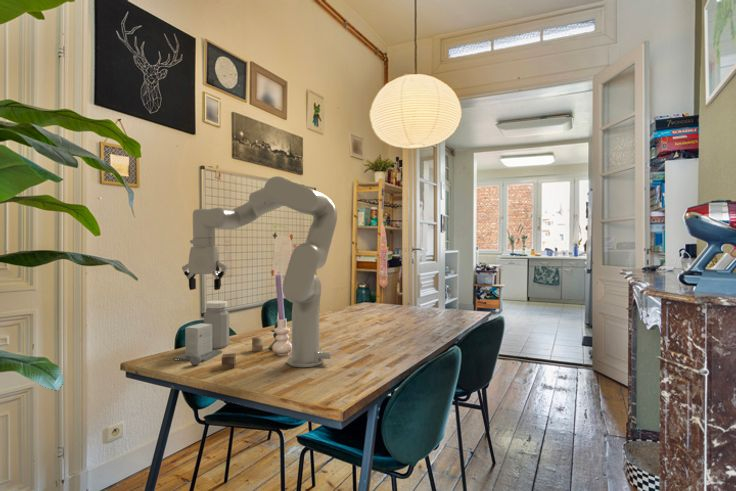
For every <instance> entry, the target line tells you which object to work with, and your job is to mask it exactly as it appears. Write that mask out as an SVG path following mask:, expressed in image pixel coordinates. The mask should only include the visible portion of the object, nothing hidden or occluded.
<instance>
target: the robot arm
mask: <svg viewBox="0 0 736 491" xmlns="http://www.w3.org/2000/svg"><path fill="white" fill-rule="evenodd" d="M282 207H286V208H289V209H291V210H294V211H296V212H299V213H301V214H305V215H307V216H308V215H309V216H310V215H311V216H312V217H313V218H312V219H313V220H312V223H311V224H310V226H309V230H308V233H307V235H306V236H307V237H306V239H305V242H303V243H300V244H298V245H297V246H296V247H295V248H294V249H293V251H292V252H291V255H290V258H289V262H288V264H287V268H286V272H285V276H284V278H283V284H282V293H283V296H284V298H285V299H286V300H287V301H289V302H290V303H292V308H291V356H290V357H288V358H287V360H286V362H287V364H288V365H289V366H290V367H295V368H313V367H316V366H317V367H318V366H320V365H322V364H323V363H324V360H331V359H332V354H331V353H330V352H328V351H322V350H323V348H322V347H320V306H321V295H322V283H321V280H320V278H319V277H318V276H317V275H316V272H317V270H320V269H322V268H323V267H324V266H325V265H326V262H327V259H328V255H329V253H330V252H329V251H330V247H331V245H332V240H333V236H334V234H335V231H336V226H337V221H338V212H337V209H336V205H335V204H334V202H333V201H332V200H331V199H330V197H328V196H327V195H326V194H324V193H323V192H320V191H318V190H315V189H313V188H309V187H306V186H304V185H301V184H298V183H296V182H293V181H291V180H290V179H289V178H288V179H287V178H285V177H283V176H279V175H278V176H272V177H270V178H269V179H268V180H267V181H266V182H265V184H264V186H263V188H261V189H260V188H259V189H258V190H256V191H253V192H251V193H250V194H249V195H248V201H247V202H246V203H243V204H242V205H239V206H236V207H235V208H233V209H231V208H226V207H213V208H210V209H209V208H208V209H207V208H198V209H197V208H196V209H194V210H193V212H192V239H190V241H189V243H190V245H191V244H192V246H191V247H190V249H189V256H188V263H186V264H185V265H183V266H181V270H182V271H183V274H184V275H185V277H186V278H187V279H188V287H189V291H192V290H196V289H197V285H196V284H197V281H196V278H195V277H196V276H197V275H210V274H211V275H212V276H214V279H213V289H214V291H219V290H221V287H222V278H223V277H224V275H225V274H226V272H227V270H228V266H227V265H225V264H223V263H221V262H220V256H219V252H218V247H217V246H216V229H218V230H236V229H239V228H241V227H244V226H246V225H248V224H250V223H253V222H254V221H256V220H258V219H259V218H260V217H261V216H263V215H265V214H267V213H269V212H272V211H274V210H277V209H279V208H282ZM220 269H221V270H220Z"/></svg>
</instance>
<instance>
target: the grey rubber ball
mask: <svg viewBox="0 0 736 491" xmlns="http://www.w3.org/2000/svg"><path fill="white" fill-rule="evenodd" d="M189 362H190V364H191V365H193V366H198V365H200V364H201V356H200V355H197V354H195V355H193V356H192V357H191V358H190V361H189Z"/></svg>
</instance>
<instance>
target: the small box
mask: <svg viewBox="0 0 736 491" xmlns="http://www.w3.org/2000/svg"><path fill="white" fill-rule="evenodd" d="M184 331H185V338H184V339H185V343H184V345H185V347H184V348H185V352H184V353H185V355H186V356H190V357H192V356H193V355H195V354H197V355H200V356H202V355H205V354H208V353H210V352H212V350H213V349H212V324H204V322H203V323H195V324H193V325H189V326H186V327H185V330H184Z"/></svg>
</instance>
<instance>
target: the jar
mask: <svg viewBox="0 0 736 491" xmlns="http://www.w3.org/2000/svg"><path fill="white" fill-rule="evenodd" d="M228 304H229V303H228V300H221V299H220V300H218V299H217V300H209V301H208V300H207V301H205V312H204V313H203V324H212V350H219V349H223V348H224V349H225V348H227V347H228V346H229V344H230V313H229V311H228Z"/></svg>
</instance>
